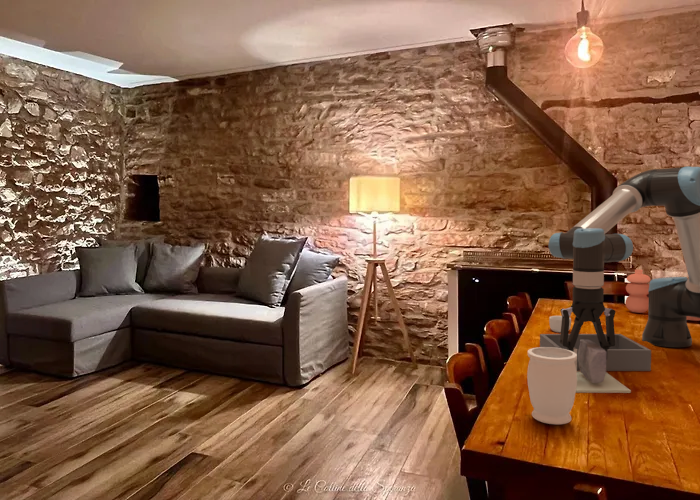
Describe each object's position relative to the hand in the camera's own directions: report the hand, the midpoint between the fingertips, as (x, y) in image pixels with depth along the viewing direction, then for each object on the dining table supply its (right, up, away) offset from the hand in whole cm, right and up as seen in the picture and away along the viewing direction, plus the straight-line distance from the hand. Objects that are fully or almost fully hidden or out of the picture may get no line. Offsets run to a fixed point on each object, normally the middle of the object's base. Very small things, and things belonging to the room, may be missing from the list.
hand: (586, 371), depth 145 cm
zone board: (0, -3, 0) cm, 3 cm away
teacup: (+17, +2, +61) cm, 63 cm away
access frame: (+10, -1, +21) cm, 23 cm away
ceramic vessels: (+75, +5, +90) cm, 117 cm away
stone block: (+2, -2, 0) cm, 3 cm away
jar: (-18, -5, -24) cm, 30 cm away
